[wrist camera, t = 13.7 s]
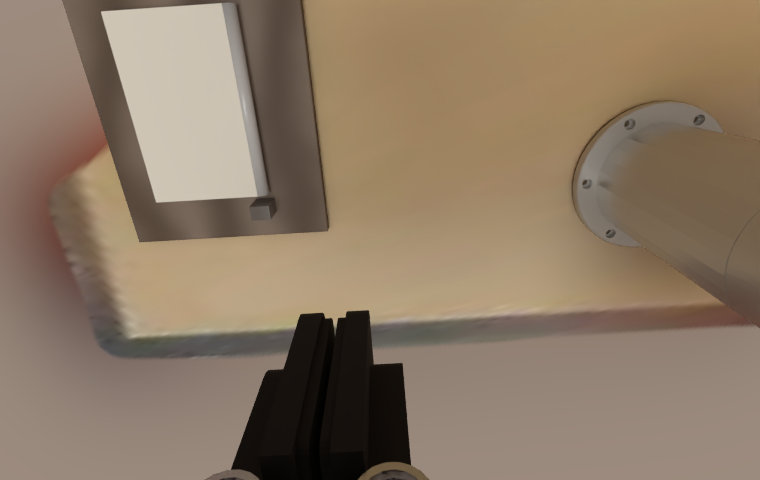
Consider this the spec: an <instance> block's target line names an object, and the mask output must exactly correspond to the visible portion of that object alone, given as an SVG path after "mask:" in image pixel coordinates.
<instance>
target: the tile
mask: <svg viewBox="0 0 760 480" xmlns="http://www.w3.org/2000/svg"><path fill="white" fill-rule="evenodd" d="M101 14H102V18H103V21H104V24H105V28H106V31H107V35H108V38H109V42H110V45H111V49H112V52H113V56H114V59H115V62H116V66H117V69H118V73H119V76H120V80H121V83H122V87H123V90H124V93H125V97H126V100H127V104H128V107H129V111H130V114H131V118H132V121H133V124H134V128H135V131H136V135H137V138H138V142H139V145H140V149H141V152H142V155H143V159H144V162H145V166H146V169H147V173H148V176H149V180H150V183H151V186H152V190H153V193H154V197H155V200H156V203H158V202H175V201H192V200H209V199H226V198H243V197H259V196H266V195H268V194H269V189H268V183H267V178H266V172H265V166H264V160H263V155H262V149H261V143H260V138H259V132H258V126H257V120H256V115H255V109H254V103H253V97H252V92H251V86H250V80H249V74H248V69H247V63H246V57H245V51H244V46H243V40H242V34H241V28H240V23H239V17H238V11H237V6H236V3H215V4H201V5H187V6H172V7H158V8H144V9H129V10H115V11H101Z"/></svg>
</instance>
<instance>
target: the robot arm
mask: <svg viewBox="0 0 760 480" xmlns="http://www.w3.org/2000/svg"><path fill="white" fill-rule="evenodd" d="M625 122H626V124H625ZM624 124H625V125H624ZM584 180H585V182H584V183H583V181H584ZM582 183H583V184H582ZM573 200H574V204H575V208H576V211H577V213H578V215H579V217H580V219H581V221H582V222H583V223H584V224H585V225H586V227H587V228H588V229H589V230H590V231H592V232H593V233H594V234H595V235H596V236H598V237H599V238H601V239H603V240H604V241H606V242H609V243H612V244H615V245H618V246H626V247H643V246H644V247H645V248H646V249H648V250H649V251H651V252H652V253H653V254H655V255H656V256H658V257H659V258H661V259H662V260H663V261H665V262H666V263H668V264H669V265H670V266H672V267H673V268H675V269H676V270H677V271H679V272H680V273H682V274H683V275H685V276H686V277H687V278H689V279H690V280H692V281H693V282H694V283H696V284H697V285H699V286H700V287H702V288H703V289H704V290H706V291H707V292H709V293H710V294H711V295H713V296H714V297H716V298H717V299H718V300H720V301H721V302H723V303H724V304H726V305H727V306H728V307H730V308H731V309H733V310H734V311H735V312H737V313H738V314H740V315H741V316H743V317H745V318H746V319H747V320H749V321H750V322H752V323H753V324H755V325H756V326H757V327H759V328H760V141H758V140H753V139H748V138H744V137H739V136H735V135H730V134H725V132H724V130H723V129H722V127H721V126H720V124H719V122H718V121H717V120H716V119H715V118H714V117H713V116H712V115H711V114H709V113H708V112H706V111H705V110H703V109H701V108H699V107H697V106H694V105H690V104H686V103H682V102H673V101H661V102H652V103H648V104H644V105H640V106H637V107H635V108H633V109H630V110H628V111H626V112H624V113H622V114H621V115H619V116H618V117H616V118H614V119H613V120H611V121H610V122H609V123H608V124H607V125H605V126H604V127H603V128H602V129H601V130H600V131H599V132H598V133H597V134H596V135H595V136H594V138H593V139H592V140H591V141H590V143H589V144H588V145H587V147H586V149H585V150H584V152H583V154H582V156H581V157H580V160H579V162H578V165H577V168H576V170H575V175H574V181H573ZM205 480H429V479H428V478H427V477H426V476H425V475H424V474H423V473H422V472H421V471H420V470H418V469H416V468H415V467H413V466H411V460H410V448H409V436H408V424H407V412H406V401H405V388H404V376H403V364H402V363H395V364H377V365H374V363H373V351H372V339H371V327H370V316H369V310H366V311H348V312H347V313H346V318H338V322H337V329H336V336H335V334H334V326H333V320H332V318H328V319H325V316H324V314H323V313H312V314H301V315H300V317H299V320H298V323H297V327H296V330H295V333H294V337H293V340H292V343H291V347H290V350H289V353H288V357H287V360H286V363H285V367H284V369H281V370H268V371H267V372H266V374H265V376H264V378H263V381H262V384H261V386H260V389H259V392H258V395H257V398H256V401H255V403H254V406H253V409H252V412H251V415H250V417H249V420H248V423H247V426H246V429H245V432H244V434H243V437H242V440H241V443H240V446H239V448H238V451H237V454H236V457H235V460H234V462H233V465H232V468H231V470H226V471H223V472H220V473H217V474H214V475H212V476H210V477H209V478H207V479H205Z"/></svg>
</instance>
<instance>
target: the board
mask: <svg viewBox="0 0 760 480" xmlns="http://www.w3.org/2000/svg"><path fill="white" fill-rule="evenodd" d="M62 1H63V4H64V7H65V10H66V13H67V16H68V20H69V23H70V26H71V29H72V32H73V35H74V38H75V42H76V45H77V48H78V51H79V54H80V57H81V60H82V63H83V67H84V70H85V73H86V76H87V79H88V82H89V85H90V89H91V92H92V95H93V98H94V101H95V104H96V107H97V110H98V114H99V117H100V120H101V123H102V126H103V129H104V132H105V135H106V139H107V142H108V145H109V148H110V151H111V154H112V157H113V161H114V164H115V167H116V170H117V173H118V176H119V179H120V182H121V186H122V189H123V192H124V195H125V198H126V201H127V204H128V207H129V211H130V214H131V217H132V220H133V223H134V226H135V229H136V232H137V236H138V239H139V242H152V241H169V240H186V239H203V238H220V237H237V236H254V235H271V234H288V233H305V232H322V231H328V228H329V225H328V216H327V208H326V199H325V191H324V182H323V174H322V166H321V157H320V149H319V140H318V132H317V123H316V115H315V107H314V98H313V90H312V81H311V73H310V64H309V56H308V48H307V39H306V31H305V22H304V14H303V5H302V0H62ZM215 3H236V6H237V11H238V17H239V23H240V28H241V34H242V40H243V46H244V51H245V57H246V63H247V69H248V74H249V80H250V86H251V92H252V97H253V103H254V109H255V115H256V120H257V126H258V132H259V138H260V143H261V149H262V155H263V160H264V166H265V172H266V178H267V183H268V189H269V194H268V195H266V196H259V197H243V198H226V199H209V200H192V201H175V202H158V203H156V200H155V197H154V193H153V190H152V186H151V183H150V180H149V176H148V173H147V169H146V166H145V162H144V159H143V155H142V152H141V149H140V145H139V142H138V138H137V135H136V131H135V128H134V124H133V121H132V118H131V114H130V111H129V107H128V104H127V100H126V97H125V93H124V90H123V87H122V83H121V80H120V76H119V73H118V69H117V66H116V62H115V59H114V56H113V52H112V49H111V45H110V42H109V38H108V35H107V31H106V28H105V24H104V21H103V18H102V14H101V11H115V10H129V9H144V8H158V7H172V6H187V5H201V4H215Z"/></svg>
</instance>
